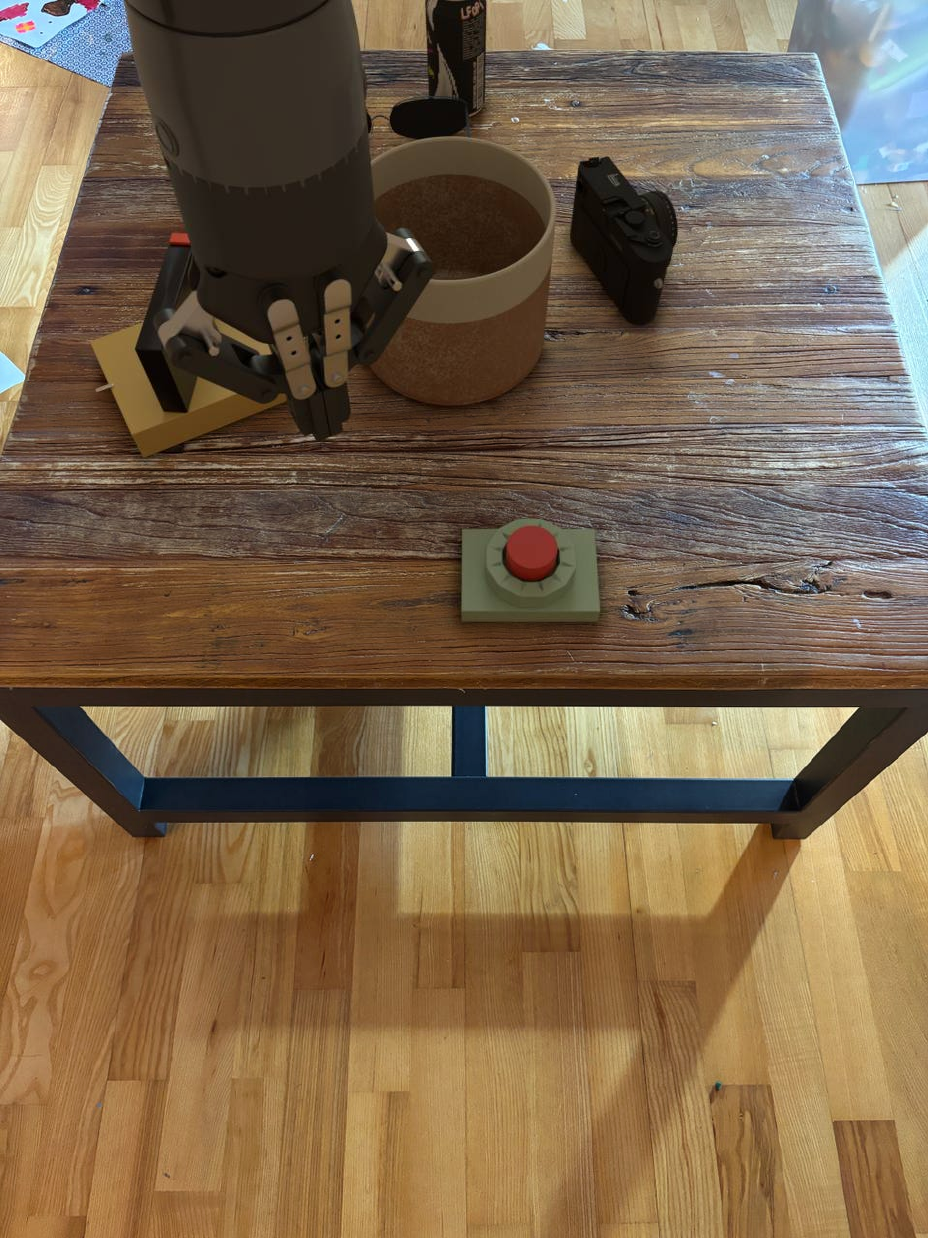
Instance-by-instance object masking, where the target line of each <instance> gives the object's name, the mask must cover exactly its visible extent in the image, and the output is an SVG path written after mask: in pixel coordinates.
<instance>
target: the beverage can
mask: <svg viewBox="0 0 928 1238" xmlns="http://www.w3.org/2000/svg"><path fill="white" fill-rule="evenodd" d="M487 6H488V5H487V0H425V1H424V9H425V10H424V11H425V12H424V13H425V34H426V35H425V36H426V62H427V84H428V85H427V86H428V96H448V97H455V98H459V99H462V100H463V101H465V102H466V103H467V104H466V106H467V107H468V109H469V117H468V118H470V117H473V116H475V115H477V113H479V112H481V110H482V109H483V108H484V105H485V103H486V71H487V68H486V67H487V66H486V65H487V58H486V57H487ZM431 98H444V97H429V98H428V99H431ZM444 99H453V98H444ZM454 100H457V99H454ZM458 101H459V100H458ZM464 104H465V103H464Z"/></svg>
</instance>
